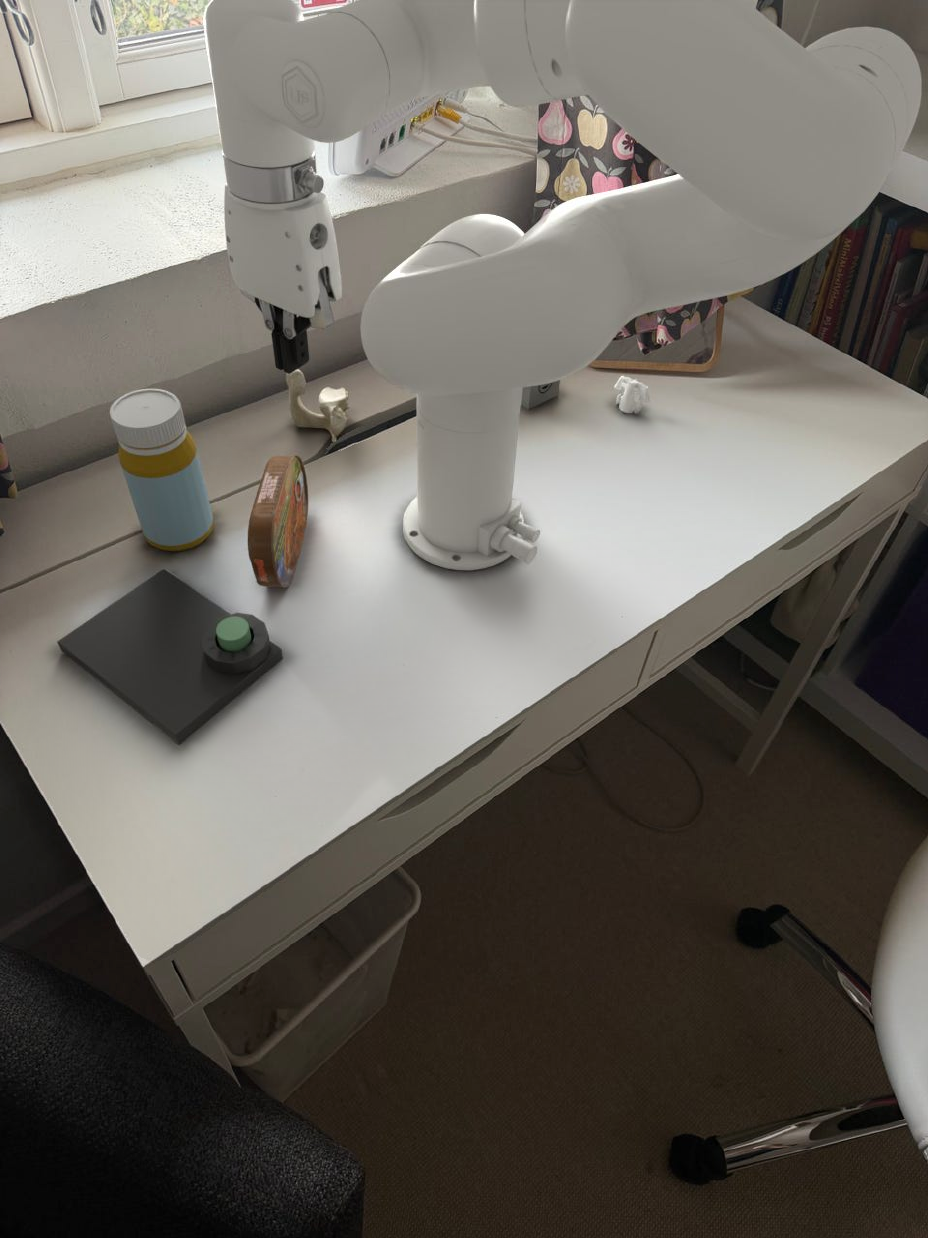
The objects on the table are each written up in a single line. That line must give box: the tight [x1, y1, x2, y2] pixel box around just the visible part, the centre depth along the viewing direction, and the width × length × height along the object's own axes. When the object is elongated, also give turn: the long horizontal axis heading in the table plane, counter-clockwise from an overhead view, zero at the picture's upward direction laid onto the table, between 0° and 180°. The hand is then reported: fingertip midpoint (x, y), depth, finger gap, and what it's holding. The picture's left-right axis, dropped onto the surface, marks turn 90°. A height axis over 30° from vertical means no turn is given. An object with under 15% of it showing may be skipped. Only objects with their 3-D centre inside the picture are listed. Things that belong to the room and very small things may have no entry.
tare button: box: [216, 617, 251, 652], centre depth 77 cm, size 3×3×2 cm
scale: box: [56, 568, 284, 745], centre depth 78 cm, size 16×12×3 cm
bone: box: [285, 369, 350, 444], centre depth 100 cm, size 9×6×10 cm
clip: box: [613, 375, 651, 414], centre depth 106 cm, size 5×2×4 cm, turn 50°
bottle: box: [109, 388, 215, 552], centre depth 85 cm, size 7×7×15 cm
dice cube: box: [521, 380, 561, 410], centre depth 107 cm, size 5×5×5 cm
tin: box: [247, 454, 309, 589], centre depth 86 cm, size 15×3×8 cm, turn 177°
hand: (292, 364), depth 87 cm, fingers closed
